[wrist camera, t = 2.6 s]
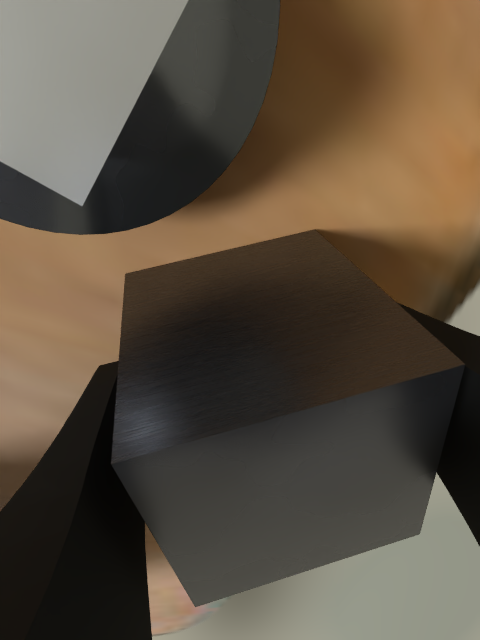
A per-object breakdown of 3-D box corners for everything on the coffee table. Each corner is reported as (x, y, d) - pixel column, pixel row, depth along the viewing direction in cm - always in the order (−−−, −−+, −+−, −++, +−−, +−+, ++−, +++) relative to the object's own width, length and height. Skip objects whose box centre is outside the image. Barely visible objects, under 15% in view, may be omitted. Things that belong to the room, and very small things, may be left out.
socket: (319, 369, 14) (419, 534, 9) (174, 408, 13) (195, 607, 8) (315, 229, 11) (465, 364, 6) (125, 273, 10) (111, 464, 5)
